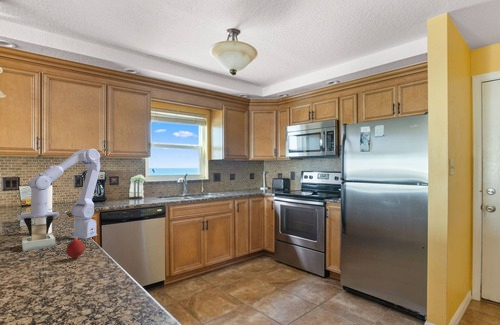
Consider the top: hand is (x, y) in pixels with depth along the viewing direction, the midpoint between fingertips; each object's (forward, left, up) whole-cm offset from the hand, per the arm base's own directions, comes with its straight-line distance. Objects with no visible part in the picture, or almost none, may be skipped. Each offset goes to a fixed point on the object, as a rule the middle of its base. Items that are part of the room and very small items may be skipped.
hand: (38, 234), depth 122 cm
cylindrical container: (+21, -21, -5) cm, 30 cm away
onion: (-30, +11, -5) cm, 33 cm away
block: (0, 0, -2) cm, 2 cm away
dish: (0, 0, -5) cm, 5 cm away
